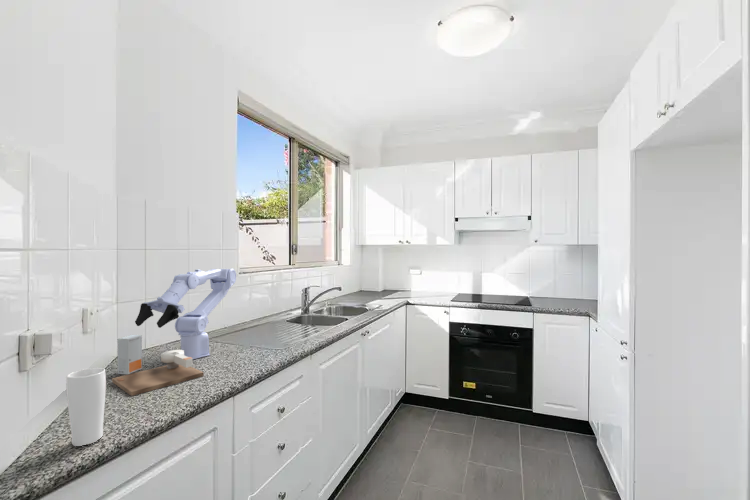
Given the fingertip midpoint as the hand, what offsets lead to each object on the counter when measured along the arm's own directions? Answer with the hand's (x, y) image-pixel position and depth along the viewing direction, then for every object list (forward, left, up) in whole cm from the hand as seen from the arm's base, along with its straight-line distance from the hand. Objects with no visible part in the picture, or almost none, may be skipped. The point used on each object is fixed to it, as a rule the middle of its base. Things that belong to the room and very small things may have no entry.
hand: (147, 324), depth 120 cm
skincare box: (+2, -11, -17) cm, 21 cm away
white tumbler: (+24, +35, -17) cm, 46 cm away
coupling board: (-1, +5, -17) cm, 18 cm away
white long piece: (-7, +5, -13) cm, 16 cm away
